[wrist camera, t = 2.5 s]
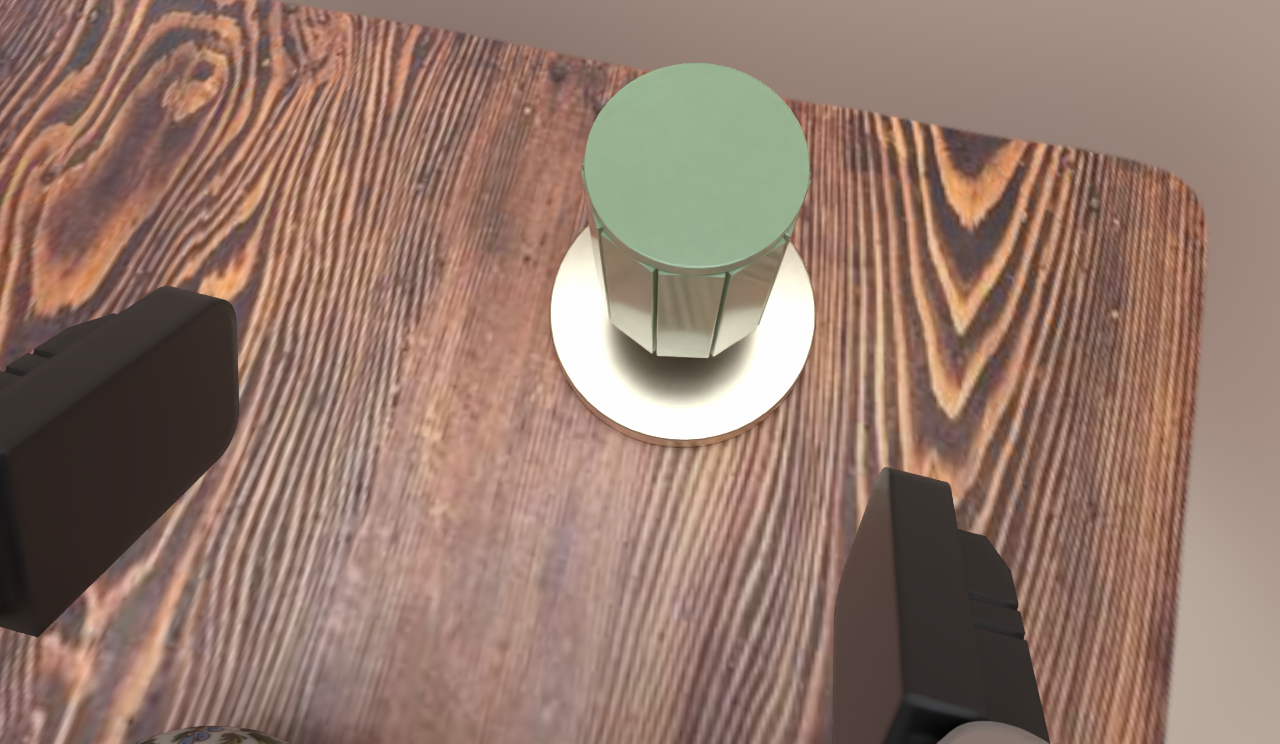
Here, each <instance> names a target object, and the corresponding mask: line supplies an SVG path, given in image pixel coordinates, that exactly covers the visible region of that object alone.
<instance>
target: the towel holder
mask: <svg viewBox="0 0 1280 744" xmlns="http://www.w3.org/2000/svg"><path fill="white" fill-rule="evenodd" d="M549 318H550V330H551V336H552V341H553V345H554V348H555V351H556V354H557V357H558V360H559V363H560V366H561V369H562V371H563V373H564V375H565V377H566V379H567V381H568V383H569V385H570V386H571V388H572V389H573V391H574V392H575V394H576V395H577V396H578V398H579V399H580V400H581V401H582V402H583V403H584V404H585V406H586V407H587V408H588V409H589V410H590V411H591V412H592V413H594V414H595V415H596V416H597V417H598V418H599V419H601V420H602V421H603V422H605V423H606V424H608V425H609V426H611V427H612V428H614V429H615V430H617V431H619V432H621V433H623V434H625V435H628V436H630V437H632V438H635V439H638V440H641V441H644V442H647V443H651V444H656V445H661V446H667V447H697V446H704V445H709V444H714V443H719V442H722V441H725V440H728V439H730V438H733V437H736V436H738V435H740V434H742V433H744V432H746V431H748V430H750V429H751V428H753V427H754V426H756V425H757V424H759V423H760V422H762V421H763V420H764V419H766V418H767V417H768V416H769V415H770V414H771V413H772V412H773V411H775V410H776V409H777V408H778V406H779V405H780V404H781V403H782V402H783V401H784V399H785V398H786V397H787V396H788V394H789V393H790V391H791V390H792V388H793V387H794V385H795V383H796V382H797V380H798V378H799V377H800V375H801V373H802V371H803V369H804V367H805V364H806V362H807V360H808V358H809V354H810V351H811V348H812V345H813V340H814V334H815V328H816V305H815V296H814V291H813V287H812V283H811V279H810V276H809V273H808V271H807V269H806V266H805V264H804V261H803V260H802V258H801V256H800V254H799V253H798V251H797V249H796V247H795V246H794V245H793V243H792V242H791V241H790V242H789V245H788V248H787V251H786V253H785V256H784V259H783V262H782V265H781V267H780V270H779V273H778V276H777V279H776V282H775V284H774V287H773V290H772V292H771V295H770V298H769V301H768V303H767V306H766V309H765V312H764V314H763V317H762V320H761V322H760V325H757V327H756V330H755V331H753V332H751V333H750V334H748V335H747V336H745V337H744V338H742V339H741V340H739V341H737V342H736V343H734V344H733V345H731V346H730V347H728V348H726V349H725V350H723V351H722V352H720V353H719V354H717V355H715V356H712V354H711V353H709V357H708V358H696V357H674V356H657V355H656V350H657V349H656V350H655V351H654V352H653V353H650V352H649V351H647V350H646V349H645V348H643V347H642V346H641V345H640V344H638V343H637V342H636V341H634V340H633V339H632V338H630V337H629V336H628V335H627V334H625V333H624V332H623V331H621V330H620V329H619V328H617V327H616V326H615V325H614V324H612V319H609V318H608V314H607V310H606V307H605V303H604V299H603V296H602V292H601V288H600V285H599V281H598V278H597V274H596V268H595V261H594V255H593V248H592V242H591V235H590V229H589V224H588V225H587V226H586V227H585V228H584V229H583V230H582V231H581V232H580V233H579V234H578V236H577V237H576V238H575V240H574V241H573V242H572V244H571V245H570V247H569V248H568V250H567V251H566V253H565V255H564V257H563V259H562V261H561V263H560V265H559V268H558V270H557V273H556V275H555V278H554V282H553V287H552V291H551V296H550V307H549Z"/></svg>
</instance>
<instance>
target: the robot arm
mask: <svg viewBox="0 0 1280 744" xmlns="http://www.w3.org/2000/svg"><path fill="white" fill-rule="evenodd" d="M238 417H239V384H238V353H237V323H236V315H235V311H234V309H233V307H232V305H231V304H230V303H229V302H228V301H226V300H223V299H219V298H215V297H211V296H207V295H203V294H199V293H195V292H191V291H187V290H183V289H179V288H175V287H171V286H163V287H160V288H158V289H156V290H155V291H153V292H152V293H150V294H149V295H147V296H146V297H144V298H142V299H141V300H139V301H138V302H136V303H135V304H133V305H132V306H130V307H129V308H127V309H126V310H124V311H122V312H121V313H119V314H114V313H113V314H110V315H107V316H104V317H101V318H98V319H94V320H91V321H88V322H85V323H82V324H79V325H75V326H72V327H69V328H67V329H65V330H64V331H62V332H61V333H59V334H57V335H56V336H54V337H53V338H51V339H49V340H48V341H46V342H45V343H43V344H41V345H40V346H38V347H37V348H35V349H34V353H33V354H29V353H27V354H25V355H24V356H22V357H21V358H19V359H17V360H16V361H14V362H13V363H11V364H9V365H8V366H6V371H5V372H2V371H0V627H3V628H6V629H10V630H14V631H17V632H21V633H24V634H28V635H31V636H35V637H39V636H40V635H41V634H42V633H43V632H44V631H45V630H46V629H47V628H48V627H49V626H50V625H51V624H52V623H53V622H54V621H55V620H56V619H57V618H58V617H59V616H60V615H61V614H62V613H63V612H64V611H65V610H66V609H67V608H68V607H69V606H70V605H71V604H72V603H73V602H74V601H75V600H76V599H77V598H78V597H79V596H80V595H81V594H82V593H83V592H84V591H85V590H86V589H87V588H88V587H89V586H91V585H92V584H93V583H94V582H95V581H96V580H97V579H98V578H99V577H100V576H101V575H102V574H103V573H104V572H105V571H106V570H107V569H108V568H109V567H110V566H111V565H112V564H113V563H114V562H115V561H116V560H117V559H118V558H119V557H120V556H121V555H122V554H123V553H124V552H125V551H126V550H127V549H128V548H129V547H130V546H131V545H132V544H133V543H134V542H135V541H136V540H137V539H138V538H139V537H140V536H141V535H142V534H143V533H144V532H145V531H146V530H147V529H148V528H149V527H150V526H151V525H152V524H153V523H154V522H155V521H156V520H157V519H158V518H159V517H161V516H162V515H163V514H164V513H165V512H166V511H167V510H168V509H169V508H170V507H171V506H172V505H173V504H174V503H175V502H176V501H177V500H178V499H179V498H180V497H181V496H182V495H183V494H184V493H185V492H186V491H187V490H188V489H189V488H190V487H191V486H192V485H193V484H194V483H195V482H196V481H197V480H198V479H199V478H200V477H201V476H202V475H203V474H204V473H205V472H206V471H207V470H208V469H209V468H210V467H211V466H212V465H213V464H214V463H215V462H216V461H217V460H218V459H219V458H220V457H221V456H222V455H223V454H224V452H225V451H226V449H227V448H228V446H229V444H230V442H231V440H232V438H233V435H234V433H235V430H236V426H237V422H238ZM1017 608H1018V600H1017V596H1016V591H1015V587H1014V583H1013V578H1012V574H1011V570H1010V569H1009V568H1008V566H1007V565H1006V563H1005V562H1004V561H1003V559H1002V558H1001V557H1000V555H999V554H998V553H997V551H996V550H995V548H994V547H993V546H992V544H991V543H990V542H989V540H988V539H987V537H986V536H982V535H978V534H974V533H971V532H967V531H963V530H959V529H958V528H957V522H956V516H955V510H954V504H953V498H952V492H951V487H950V485H949V483H947V482H944V481H940V480H936V479H932V478H928V477H924V476H920V475H916V474H912V473H908V472H904V471H900V470H896V469H892V468H888V467H884V468H883V469H882V471H881V472H880V474H879V476H878V478H877V480H876V483H875V485H874V488H873V491H872V493H871V496H870V499H869V501H868V504H867V507H866V510H865V512H864V515H863V518H862V521H861V523H860V526H859V529H858V531H857V534H856V537H855V540H854V542H853V545H852V548H851V550H850V553H849V556H848V559H847V561H846V564H845V567H844V570H843V573H842V577H841V580H840V584H839V589H838V594H837V599H836V605H835V613H834V653H833V726H832V744H1050V741H1049V736H1048V732H1047V727H1046V723H1045V719H1044V714H1043V710H1042V705H1041V701H1040V697H1039V692H1038V688H1037V684H1036V679H1035V675H1034V670H1033V666H1032V662H1031V657H1030V653H1029V648H1028V644H1027V641H1026V640H1024V635H1025V631H1024V627H1023V622H1022V618H1021V613H1020V612H1019V611H1017Z"/></svg>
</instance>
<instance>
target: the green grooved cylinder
mask: <svg viewBox="0 0 1280 744" xmlns="http://www.w3.org/2000/svg"><path fill="white" fill-rule="evenodd" d="M810 175H811V172H810V160H809V152H808V147H807V143H806V139H805V136H804V133H803V131H802V129H801V126H800V124H799V122H798V121H797V119H796V117H795V116H794V114H793V112H792V111H791V110H790V108H789V107H788V106H787V104H786V103H785V102H784V101H783V100H782V99H781V98H780V97H779V96H778V95H777V94H776V93H775V92H774V91H773V90H772V89H770V88H769V87H768V86H766V85H765V84H764V83H762V82H760V81H759V80H757V79H755V78H753V77H752V76H750V75H748V74H745V73H742V72H740V71H738V70H735V69H732V68H728V67H725V66H720V65H714V64H706V63H686V64H677V65H672V66H666V67H664V68H660V69H657V70H654V71H651V72H649V73H647V74H644V75H642V76H640V77H638V78H637V79H635V80H633V81H632V82H630V83H628V84H627V85H626V86H625V87H623V88H622V89H621V90H620V91H618V92H617V93H616V94H615V95H614V96H613V97H612V98H611V99H610V100H609V101H608V102H607V104H606V105H605V106H604V108H603V109H602V110H601V112H600V113H599V115H598V117H597V118H596V120H595V122H594V124H593V126H592V128H591V131H590V134H589V136H588V140H587V144H586V148H585V156H584V159H583V162H582V171H581V176H582V183H583V189H584V196H585V202H586V209H587V215H588V222H589V229H590V235H591V242H592V248H593V255H594V261H595V268H596V274H597V278H598V281H599V285H600V288H601V292H602V296H603V299H604V303H605V307H606V310H607V314H608V318H609V319H612V324H614V325H615V326H616V327H617V328H619V329H620V330H621V331H623V332H624V333H625V334H627V335H628V336H629V337H630V338H632V339H633V340H634V341H636V342H637V343H638V344H640V345H641V346H642V347H643V348H645V349H646V350H647V351H649V352H650V353H653V352H654V351H655V350H656V349H657V350H656V355H657V356H674V357H696V358H708V357H709V353H711V354H712V356H715V355H717V354H719V353H720V352H722V351H723V350H725V349H726V348H728V347H730V346H731V345H733V344H734V343H736V342H737V341H739V340H741V339H742V338H744V337H745V336H747V335H748V334H750V333H751V332H753V331H755V330H756V327H757V325H760V322H761V320H762V317H763V314H764V312H765V309H766V306H767V303H768V301H769V298H770V295H771V292H772V290H773V287H774V284H775V282H776V279H777V276H778V273H779V270H780V267H781V265H782V262H783V259H784V256H785V253H786V251H787V248H788V245H789V242H790V239H791V236H792V234H793V231H794V228H795V225H796V222H797V219H798V217H799V214H800V211H801V208H802V205H803V203H804V200H805V197H806V194H807V191H808V188H809V186H810V183H811V180H810V179H809V178H810Z"/></svg>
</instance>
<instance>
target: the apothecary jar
mask: <svg viewBox="0 0 1280 744" xmlns="http://www.w3.org/2000/svg"><path fill="white" fill-rule="evenodd" d="M136 744H289V743H287V742H285V741H283V740H281V739H279V738H276V737H274V736H271V735H269V734H266V733H263V732H259V731H255V730H250V729H244V728H237V727H222V726H198V727H190V728H184V729H179V730H175V731H170V732H166V733H162V734H159V735H155V736H153V737H150V738H147V739H145V740H142V741H140V742H138V743H136Z"/></svg>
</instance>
